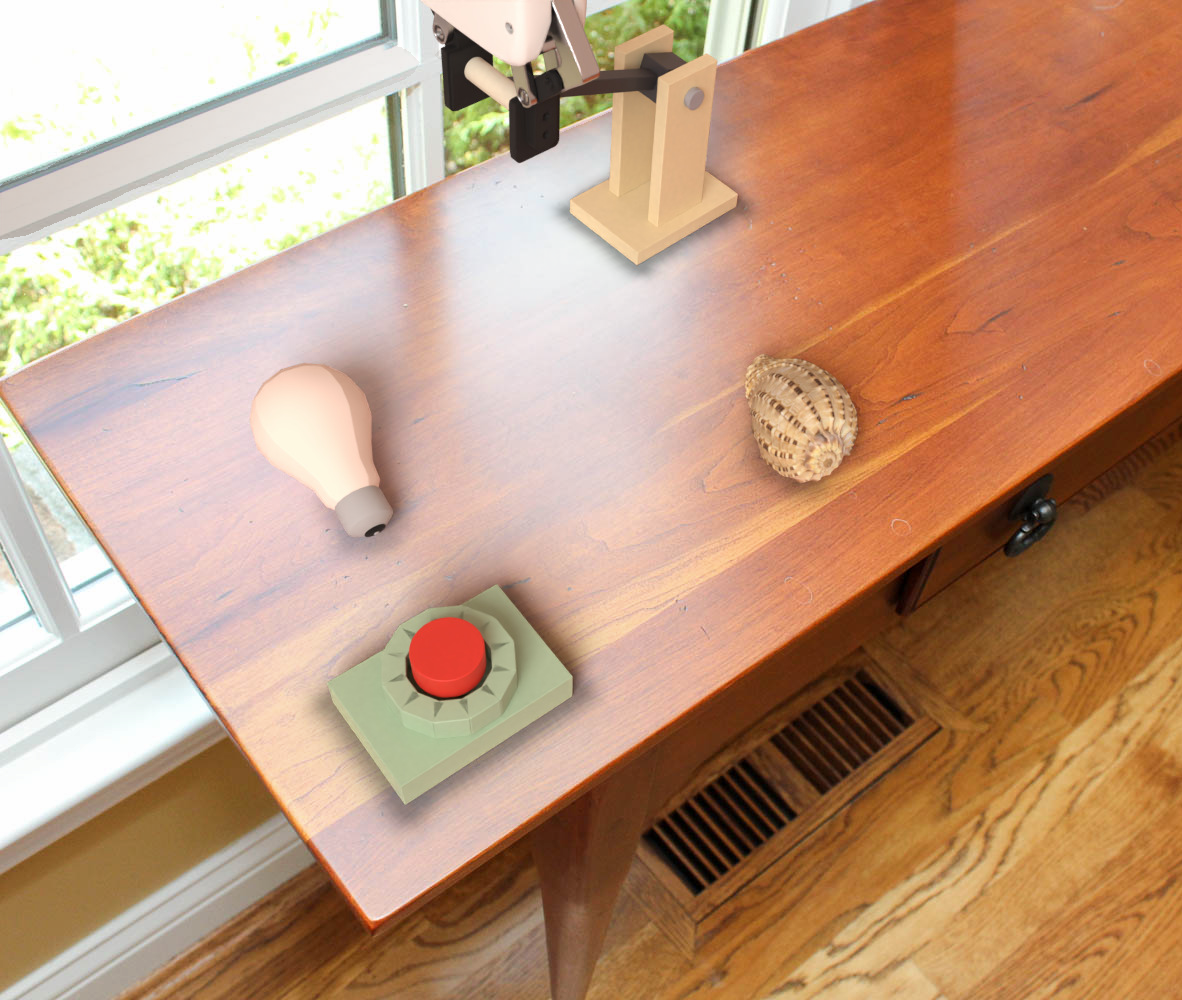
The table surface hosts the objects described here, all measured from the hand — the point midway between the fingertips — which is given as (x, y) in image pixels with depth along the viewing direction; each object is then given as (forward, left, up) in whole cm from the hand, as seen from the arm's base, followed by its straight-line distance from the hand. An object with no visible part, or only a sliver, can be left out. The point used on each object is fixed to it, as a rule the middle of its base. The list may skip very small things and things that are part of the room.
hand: (501, 123), depth 71 cm
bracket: (+10, +8, -13) cm, 19 cm away
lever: (+5, +4, -1) cm, 7 cm away
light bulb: (-10, -16, -14) cm, 23 cm away
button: (-3, -30, -10) cm, 32 cm away
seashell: (+17, -13, -14) cm, 25 cm away
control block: (-3, -30, -13) cm, 33 cm away
